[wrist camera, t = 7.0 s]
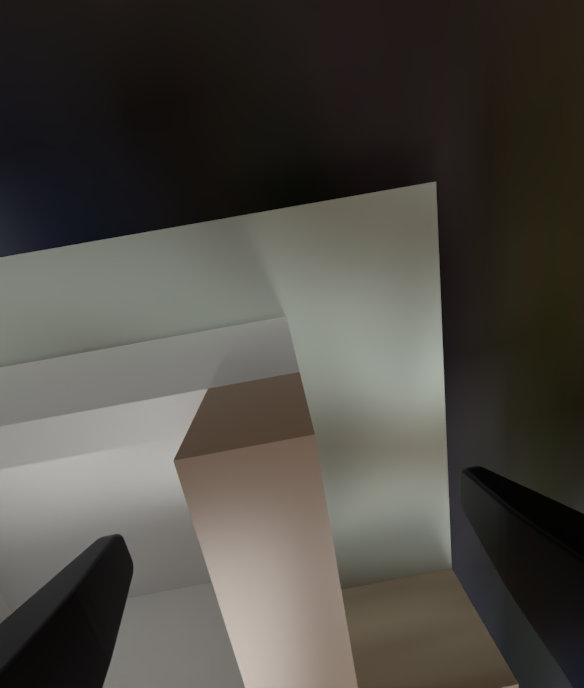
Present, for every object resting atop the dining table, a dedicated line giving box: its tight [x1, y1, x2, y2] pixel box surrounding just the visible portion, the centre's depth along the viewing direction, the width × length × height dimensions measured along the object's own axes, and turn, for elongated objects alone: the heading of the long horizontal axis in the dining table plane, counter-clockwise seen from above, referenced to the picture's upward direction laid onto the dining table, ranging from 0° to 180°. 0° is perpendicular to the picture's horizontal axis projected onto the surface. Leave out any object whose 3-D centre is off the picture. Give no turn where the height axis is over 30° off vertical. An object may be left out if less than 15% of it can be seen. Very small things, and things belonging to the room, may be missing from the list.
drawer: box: [0, 316, 358, 688], centre depth 6 cm, size 8×10×6 cm
